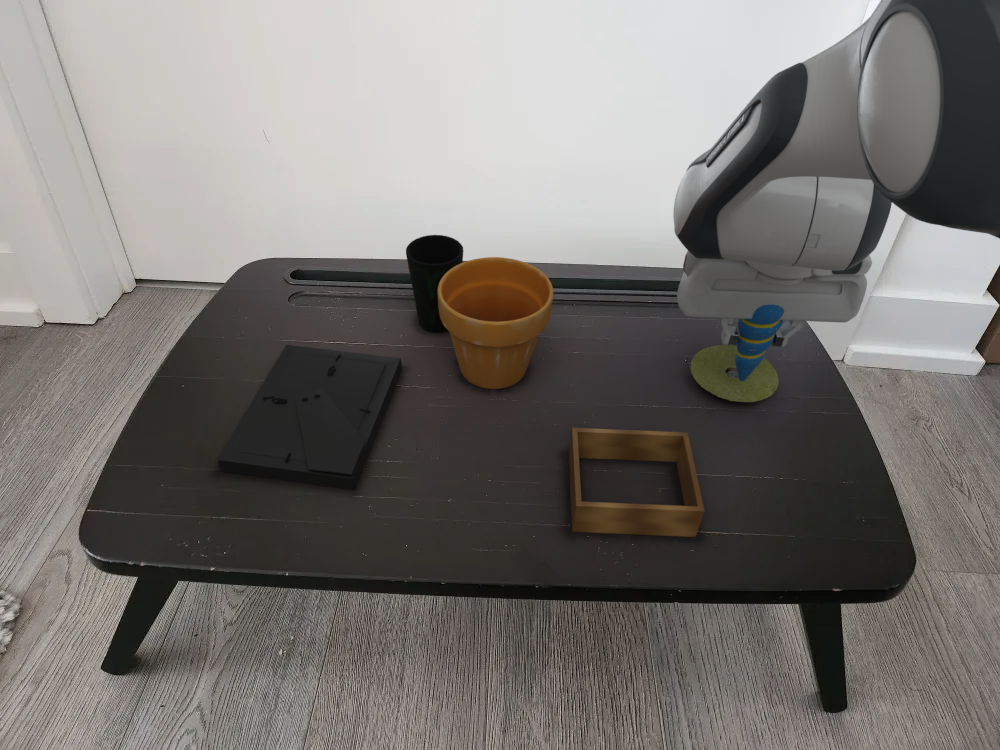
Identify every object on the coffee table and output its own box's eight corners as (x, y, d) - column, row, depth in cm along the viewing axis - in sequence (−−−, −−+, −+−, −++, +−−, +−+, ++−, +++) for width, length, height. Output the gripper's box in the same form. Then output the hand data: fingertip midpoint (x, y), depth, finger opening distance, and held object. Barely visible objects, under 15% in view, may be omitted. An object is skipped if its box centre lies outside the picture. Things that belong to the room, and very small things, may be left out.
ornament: (762, 396, 90) (798, 297, 80) (720, 390, 90) (750, 291, 80) (759, 369, 93) (792, 271, 84) (718, 364, 94) (746, 266, 84)
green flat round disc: (792, 388, 95) (796, 377, 94) (738, 425, 90) (742, 414, 88) (723, 345, 102) (727, 334, 100) (670, 377, 96) (672, 366, 95)
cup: (443, 299, 108) (441, 228, 100) (475, 323, 104) (474, 252, 96) (401, 318, 105) (394, 246, 97) (431, 344, 100) (427, 271, 92)
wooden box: (680, 458, 85) (687, 432, 82) (695, 537, 77) (704, 511, 74) (568, 453, 86) (571, 427, 83) (572, 532, 77) (576, 505, 74)
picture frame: (354, 490, 81) (402, 370, 96) (351, 473, 79) (400, 353, 94) (221, 471, 83) (289, 356, 98) (215, 455, 81) (285, 340, 96)
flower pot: (549, 339, 102) (555, 260, 93) (543, 408, 91) (550, 327, 83) (449, 331, 103) (447, 252, 94) (433, 399, 92) (428, 318, 83)
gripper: (693, 255, 76) (670, 356, 86) (888, 263, 76) (844, 363, 85) (684, 225, 81) (663, 323, 90) (867, 232, 81) (828, 330, 90)
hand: (752, 343), depth 88 cm, fingers closed on ornament, 4 cm apart
